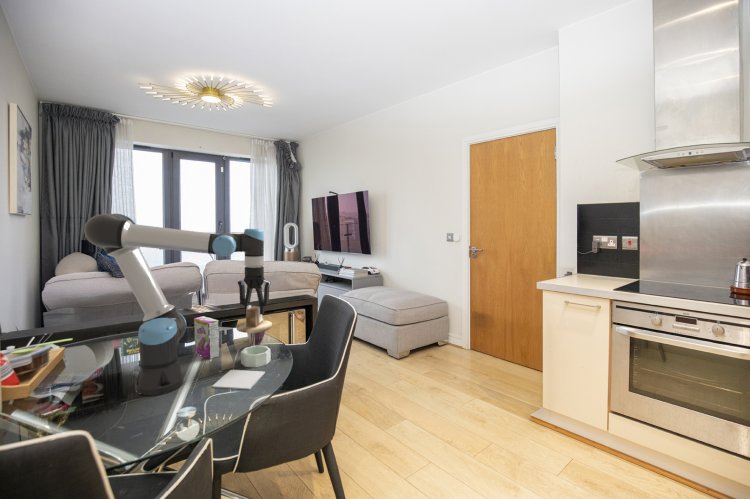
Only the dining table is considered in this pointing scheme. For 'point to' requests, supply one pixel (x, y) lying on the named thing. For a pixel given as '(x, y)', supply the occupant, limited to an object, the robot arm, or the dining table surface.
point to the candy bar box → (206, 337)
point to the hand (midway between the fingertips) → (254, 321)
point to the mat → (239, 379)
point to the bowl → (255, 356)
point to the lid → (253, 322)
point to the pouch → (255, 337)
